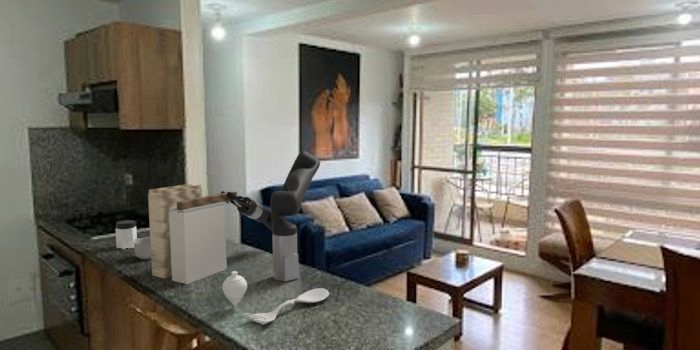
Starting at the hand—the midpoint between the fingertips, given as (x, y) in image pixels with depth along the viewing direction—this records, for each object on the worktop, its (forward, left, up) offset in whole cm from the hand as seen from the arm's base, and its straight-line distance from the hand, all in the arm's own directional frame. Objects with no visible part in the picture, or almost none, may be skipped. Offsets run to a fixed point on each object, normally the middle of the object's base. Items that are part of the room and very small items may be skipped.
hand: (224, 193), depth 189 cm
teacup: (+33, +22, -30) cm, 50 cm away
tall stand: (+6, +17, -30) cm, 35 cm away
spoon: (-56, +4, -30) cm, 64 cm away
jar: (+56, +24, -30) cm, 68 cm away
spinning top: (-44, +17, -30) cm, 56 cm away
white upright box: (-5, +13, -30) cm, 33 cm away
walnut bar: (-3, +8, -3) cm, 9 cm away
